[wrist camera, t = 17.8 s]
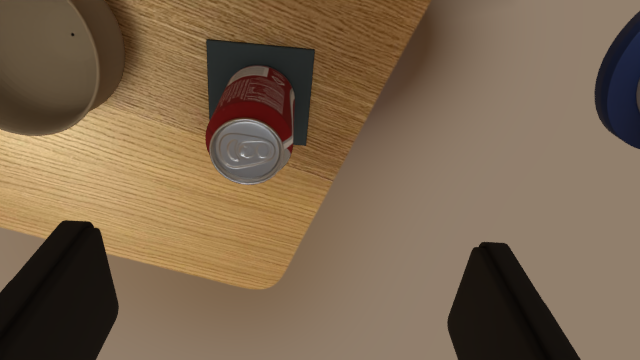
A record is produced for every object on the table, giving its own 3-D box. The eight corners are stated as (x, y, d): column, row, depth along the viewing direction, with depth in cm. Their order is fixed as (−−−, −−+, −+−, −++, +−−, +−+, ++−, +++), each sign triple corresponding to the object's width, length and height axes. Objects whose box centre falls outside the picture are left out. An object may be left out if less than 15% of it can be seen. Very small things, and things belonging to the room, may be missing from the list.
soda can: (222, 63, 39) (193, 111, 29) (293, 62, 39) (291, 110, 29) (230, 128, 42) (207, 192, 32) (295, 127, 43) (293, 191, 32)
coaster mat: (314, 49, 39) (314, 50, 39) (305, 143, 44) (305, 145, 44) (207, 39, 38) (206, 40, 38) (211, 136, 43) (210, 138, 43)
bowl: (73, -86, 33) (-7, -92, 24) (172, 57, 39) (136, 93, 30) (-40, -8, 35) (-147, 12, 27) (70, 115, 42) (10, 163, 33)
